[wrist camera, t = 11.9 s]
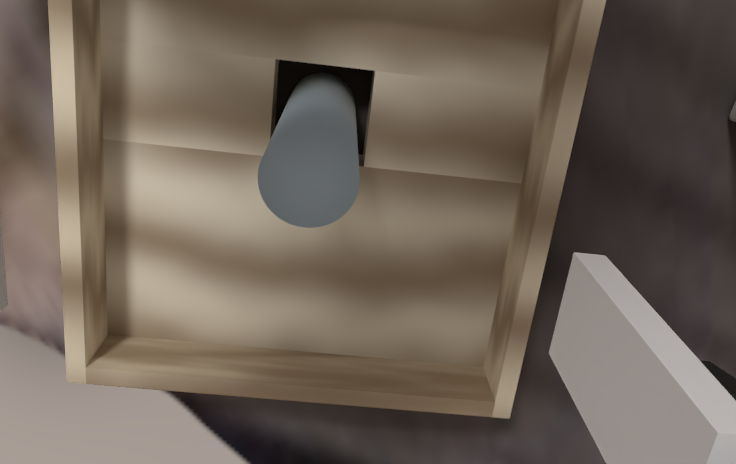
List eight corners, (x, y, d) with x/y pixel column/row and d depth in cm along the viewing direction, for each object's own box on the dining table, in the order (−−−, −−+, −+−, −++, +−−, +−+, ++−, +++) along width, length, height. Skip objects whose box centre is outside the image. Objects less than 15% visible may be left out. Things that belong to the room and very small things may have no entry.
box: (94, -106, 33) (42, -122, 27) (573, -44, 34) (616, -47, 29) (104, 326, 41) (66, 382, 36) (488, 360, 43) (509, 418, 37)
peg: (291, 68, 36) (261, 124, 23) (358, 76, 36) (365, 135, 23) (286, 134, 37) (254, 222, 24) (351, 141, 38) (353, 232, 25)
